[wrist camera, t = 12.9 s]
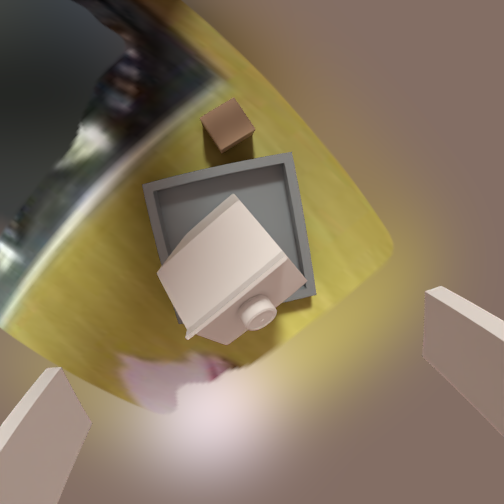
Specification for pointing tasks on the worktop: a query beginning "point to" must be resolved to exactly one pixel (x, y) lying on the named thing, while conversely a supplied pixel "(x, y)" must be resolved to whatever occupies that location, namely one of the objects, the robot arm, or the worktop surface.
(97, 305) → the worktop surface
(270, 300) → the milk carton
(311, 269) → the tray
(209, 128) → the walnut block
